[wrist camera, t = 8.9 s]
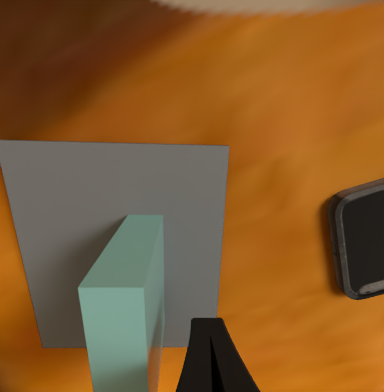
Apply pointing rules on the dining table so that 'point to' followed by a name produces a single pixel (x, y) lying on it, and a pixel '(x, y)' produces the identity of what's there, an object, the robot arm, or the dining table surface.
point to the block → (126, 308)
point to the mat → (115, 223)
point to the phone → (358, 239)
